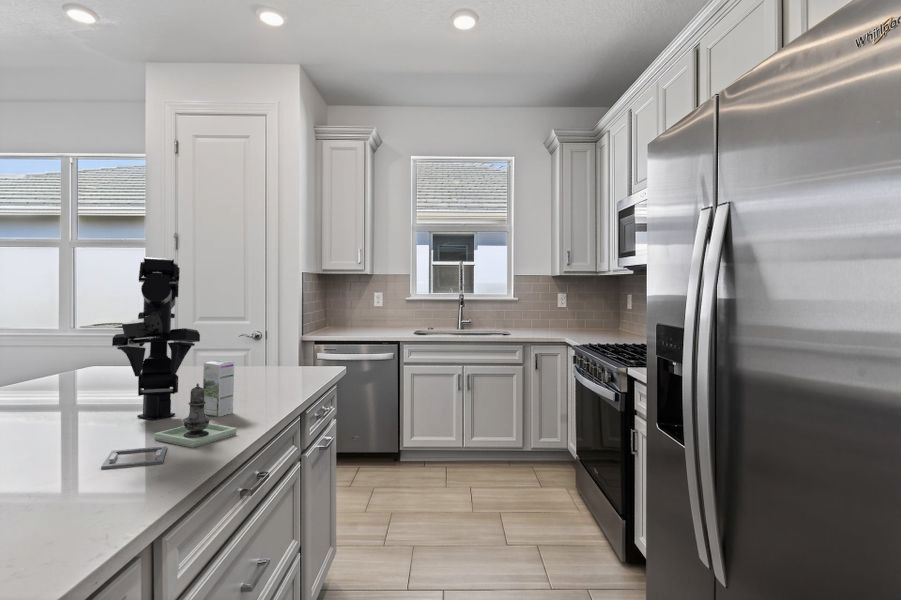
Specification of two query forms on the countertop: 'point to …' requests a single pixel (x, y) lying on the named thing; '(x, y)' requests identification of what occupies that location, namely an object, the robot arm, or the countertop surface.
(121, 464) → the socket
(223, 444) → the countertop surface
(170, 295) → the robot arm
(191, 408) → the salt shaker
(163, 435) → the tray
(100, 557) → the countertop surface
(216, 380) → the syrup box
